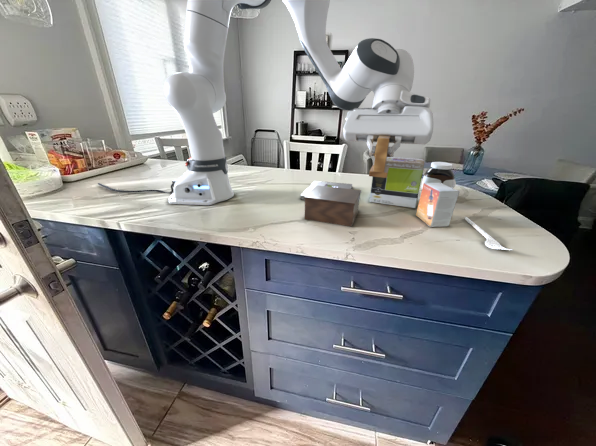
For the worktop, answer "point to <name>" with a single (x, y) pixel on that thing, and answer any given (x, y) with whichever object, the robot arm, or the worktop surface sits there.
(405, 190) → the tea box
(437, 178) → the spread jar
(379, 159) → the wooden i-shaped block
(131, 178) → the worktop surface
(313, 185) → the play button award
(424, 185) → the small box
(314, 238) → the worktop surface
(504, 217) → the worktop surface
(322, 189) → the wooden box
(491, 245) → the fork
